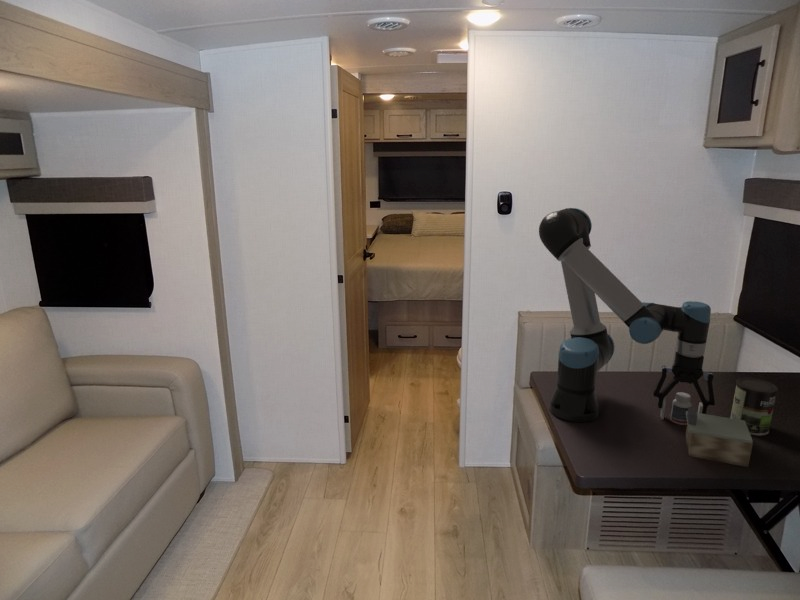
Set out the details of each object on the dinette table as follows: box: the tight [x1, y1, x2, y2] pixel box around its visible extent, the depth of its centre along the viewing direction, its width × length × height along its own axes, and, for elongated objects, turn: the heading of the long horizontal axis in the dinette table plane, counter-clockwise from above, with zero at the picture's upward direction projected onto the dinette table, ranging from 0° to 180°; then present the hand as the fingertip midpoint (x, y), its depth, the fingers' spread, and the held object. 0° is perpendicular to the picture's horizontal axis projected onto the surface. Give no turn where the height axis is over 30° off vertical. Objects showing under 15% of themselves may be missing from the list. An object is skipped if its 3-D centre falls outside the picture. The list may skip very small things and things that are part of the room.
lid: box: [686, 407, 753, 444], centre depth 144 cm, size 15×12×4 cm
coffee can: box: [729, 377, 779, 437], centre depth 157 cm, size 10×10×14 cm
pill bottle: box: [669, 391, 693, 426], centre depth 161 cm, size 5×5×9 cm
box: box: [685, 423, 754, 468], centre depth 145 cm, size 14×11×7 cm
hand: (679, 420), depth 163 cm, fingers open, 9 cm apart
